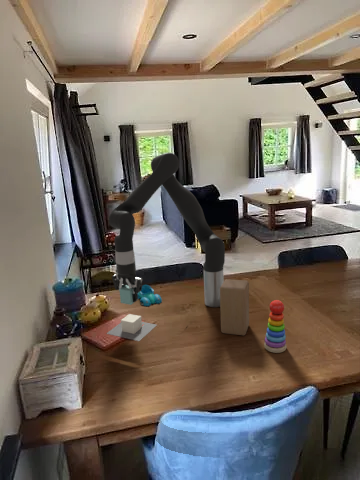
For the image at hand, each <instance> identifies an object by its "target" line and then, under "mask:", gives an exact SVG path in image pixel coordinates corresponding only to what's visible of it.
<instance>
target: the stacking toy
mask: <svg viewBox="0 0 360 480" xmlns="http://www.w3.org/2000/svg"><path fill="white" fill-rule="evenodd" d="M269 310H270V312H269V315H268V316H269V318H268V320H267V322H268V323H267V328H266V333H265V337H264V343H263V344H264V345H263V347H264V348H265V350H266V351H267V352H271V353H274V354H275V353H276V354H279V353H283V352H285V351H286V349H287V343H286V342H287V340H286V338H287V336H286V330H285V327H286V326H285V319H284V317H285V315H284V310H285V304H284V303H283V302H282V301H281V300H279V299H275V300H272V301H271V302H270V303H269Z"/></svg>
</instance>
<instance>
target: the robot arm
mask: <svg viewBox="0 0 360 480" xmlns="http://www.w3.org/2000/svg"><path fill="white" fill-rule="evenodd" d="M150 167H151V171H152V173H151V174H150V175H149V176H147V178H145V179H144V180H143V181H142V182H141V183H139V185H137V187H135V189H133V191H132V192H131V193H130V194H129V196H128V197H127V198H126V200H124V201H123V202H121V203H120V204H119V205H117V206H116V207H114V209H113V210H112V211H111V212H110V214H109V216H108V223H109V226H110V227H112V228H113V229H118V230H119V234H117V235H116V236H115V237H114V250H115V251H114V252H115V254H114V255H115V265H116V266H115V267H116V274H114V275H112V276H111V280H112V282H113V286H114V288H115V291H118V292H119V293H120V290H119V289H120V288H123V287H124V286H126V285H127V286H129V288H130V289H131V290H132V293H133V294H132V297H133V302H134V303H136V302H137V301H138V300H139V299H138V293H139V292H140V291H141V290H142V286H143V285H144V284H143V282H144V278H143V277H138V276H137V273H136V271H137V266H136V256H135V251H134V241H133V238H134V234H135V226H136V221H135V217H134V214H138V213H140V212H141V211H142V209H143V208H144V207H145V206H146V204H147V203H148V202H149V201H150V199H151V198H152V197H153V195H155V193H156V192H157V191H158V190H159V188H160V187H161V186H162V187H163V188H164V189H165V191H166V192H167V194H168V195H169V197H170V198H171V200H172V202H173V203H174V205H175V207H176V209H177V211H178V212H179V214H180V216H182V218H183V219H184V221H185V223H186V224H187V225H188V226H189V227H190V229H191V230H192V231H193V233H194V234H195V235H194V236H195V237H196V239H197V240H198V244H199V246H200V248H201V249H202V251H203V252H204V257H205V258H204V262H203V266H202V267H203V292H204V304H205V306H207V307H211V308H219V307H220V287H221V286H222V284H223V282H224V280H225V278H224V265H225V261H226V260H225V259H226V257H225V253H226V248H225V242H224V241H223V239H222V238H221V237H219V236H217V235H216V233H215V232H213V230H212V228H211V227H210V226H209V224H208V222H207V220H206V218H205V214H204V211H203V208H202V205H200V203H199V201H198V199H197V198H196V196H195V195H194V194H193V193H192V192H191V191H190V190H189V189H188V188H186V187H185V186H184V185H182V184H181V182H179V181H178V179H177V178H176V176H175V173H176V172H177V171H178V170H179V168H180V160H179V157H178V156H177V155H176V154H175V153H173V152H165V153H162V154H160V155H157V156H155V157H153V158H152V160H151V162H150ZM134 289H135V290H134Z"/></svg>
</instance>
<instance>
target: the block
mask: <svg viewBox="0 0 360 480" xmlns="http://www.w3.org/2000/svg"><path fill="white" fill-rule="evenodd" d="M219 311H220V331H221V333H222V334H228V335H235V336H237V335H238V336H246V334H247V331H248V328H249V324H250V282H249V280H246V279H229V278H226V279H225V278H224V282H223V284H222V286H221V287H220V309H219Z"/></svg>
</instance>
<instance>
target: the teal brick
mask: <svg viewBox="0 0 360 480" xmlns="http://www.w3.org/2000/svg"><path fill="white" fill-rule="evenodd" d="M119 290H120V292H119V298H120V299H119V301H120V304H124V305H130V306H131V305H133V304H135V302H133V297H132V294H133V293H132V290H131V289H130V288H129V286H127V285H126V286H124V287H123V288H120V289H119ZM119 290H118V291H119ZM134 290H135V289H134Z"/></svg>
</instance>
